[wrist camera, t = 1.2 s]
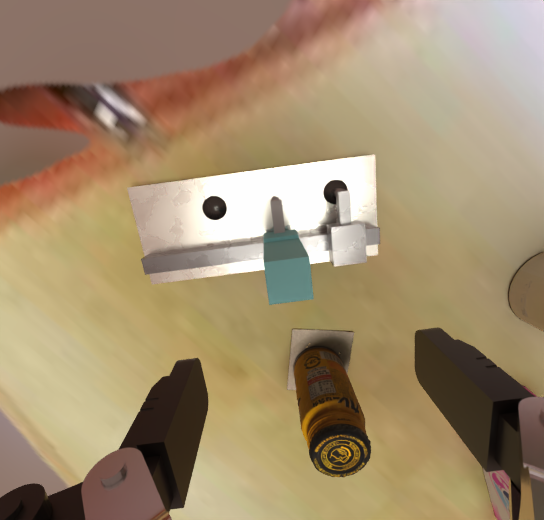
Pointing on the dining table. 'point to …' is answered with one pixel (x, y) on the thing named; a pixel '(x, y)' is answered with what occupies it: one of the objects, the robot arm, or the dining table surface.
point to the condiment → (328, 401)
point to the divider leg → (285, 261)
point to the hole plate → (256, 218)
